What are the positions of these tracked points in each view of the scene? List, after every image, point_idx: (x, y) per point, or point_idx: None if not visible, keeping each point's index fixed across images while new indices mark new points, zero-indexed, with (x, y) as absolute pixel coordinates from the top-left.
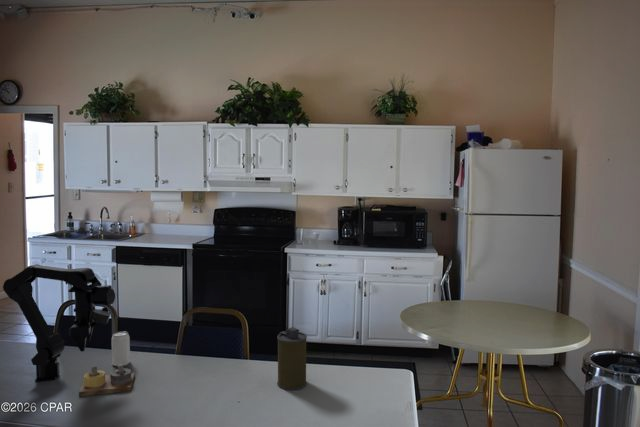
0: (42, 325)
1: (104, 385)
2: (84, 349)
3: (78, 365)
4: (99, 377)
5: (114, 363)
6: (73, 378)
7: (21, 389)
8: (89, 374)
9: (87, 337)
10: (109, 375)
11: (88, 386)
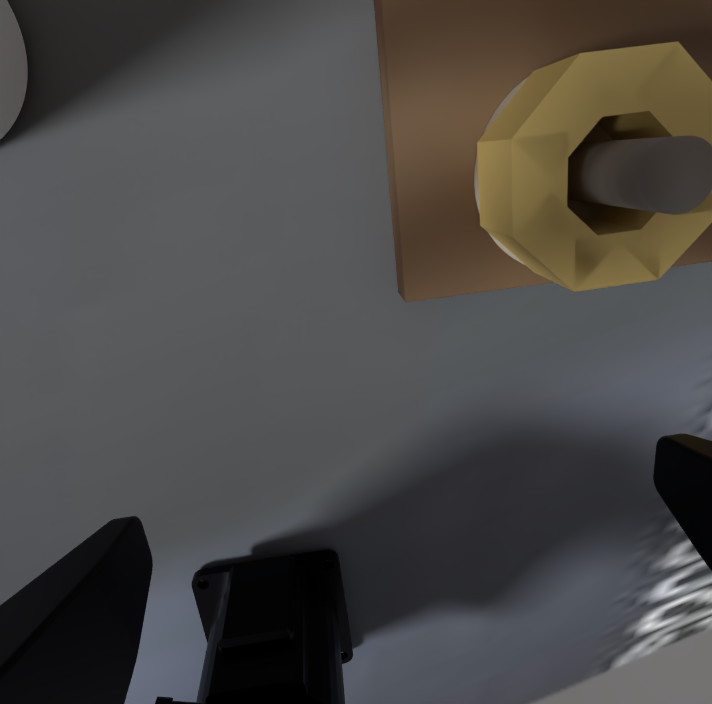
0: None
1: (660, 42)
2: (696, 442)
3: (20, 490)
4: (708, 86)
5: (6, 110)
6: (318, 425)
7: (458, 668)
8: (605, 235)
9: (107, 639)
10: (403, 60)
11: None
